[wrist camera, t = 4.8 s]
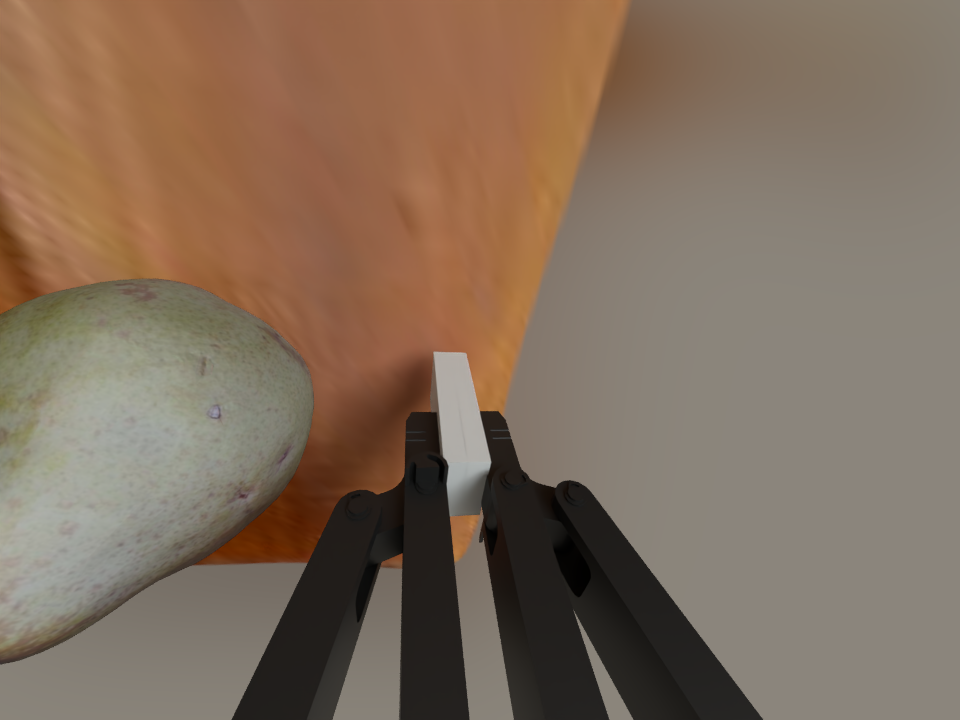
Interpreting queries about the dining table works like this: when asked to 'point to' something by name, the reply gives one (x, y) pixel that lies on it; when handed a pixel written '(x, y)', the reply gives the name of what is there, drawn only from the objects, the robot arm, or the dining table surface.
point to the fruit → (132, 445)
